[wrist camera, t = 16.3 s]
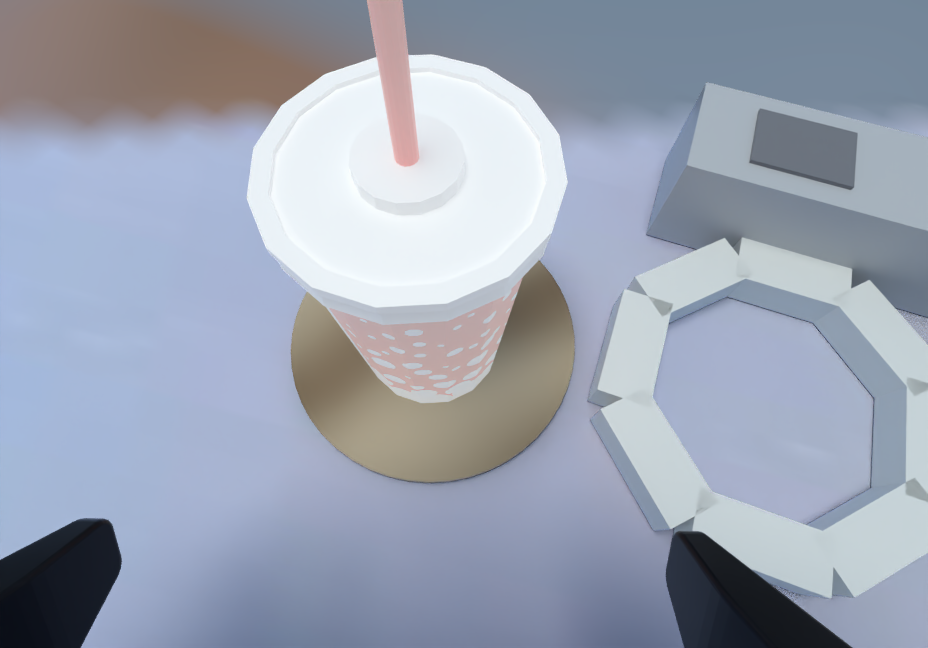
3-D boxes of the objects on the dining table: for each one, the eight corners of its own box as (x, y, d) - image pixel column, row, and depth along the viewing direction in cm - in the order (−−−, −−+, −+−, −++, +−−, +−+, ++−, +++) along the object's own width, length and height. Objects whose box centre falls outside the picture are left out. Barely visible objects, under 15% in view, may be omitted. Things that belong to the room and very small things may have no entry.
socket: (1061, 693, 14) (1280, 745, 10) (559, 504, 16) (589, 490, 12) (1021, 257, 20) (1152, 189, 16) (653, 157, 22) (693, 75, 18)
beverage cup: (555, 355, 18) (796, -145, 5) (411, 465, 16) (222, 152, 3) (450, 237, 20) (427, -341, 7) (312, 325, 18) (-41, -207, 5)
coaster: (630, 365, 18) (634, 361, 18) (396, 551, 16) (394, 551, 15) (461, 183, 21) (461, 177, 21) (244, 313, 19) (240, 309, 18)
